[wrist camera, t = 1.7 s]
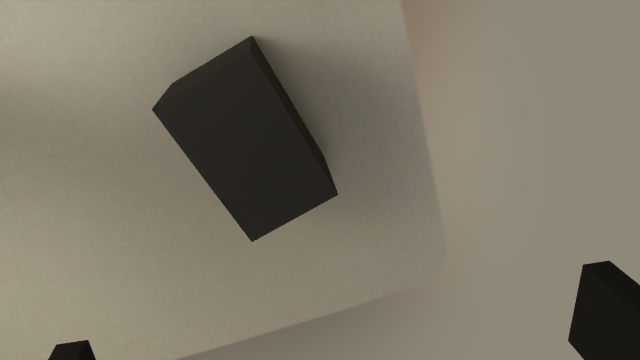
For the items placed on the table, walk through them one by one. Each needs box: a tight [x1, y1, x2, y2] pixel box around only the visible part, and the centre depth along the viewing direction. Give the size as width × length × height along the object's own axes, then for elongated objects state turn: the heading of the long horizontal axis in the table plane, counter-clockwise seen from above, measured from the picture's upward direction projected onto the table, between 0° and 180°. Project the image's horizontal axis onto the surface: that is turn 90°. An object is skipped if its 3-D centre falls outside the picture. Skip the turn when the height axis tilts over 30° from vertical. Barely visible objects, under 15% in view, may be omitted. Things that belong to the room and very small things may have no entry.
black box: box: [152, 36, 338, 242], centre depth 23 cm, size 5×8×5 cm, turn 29°
